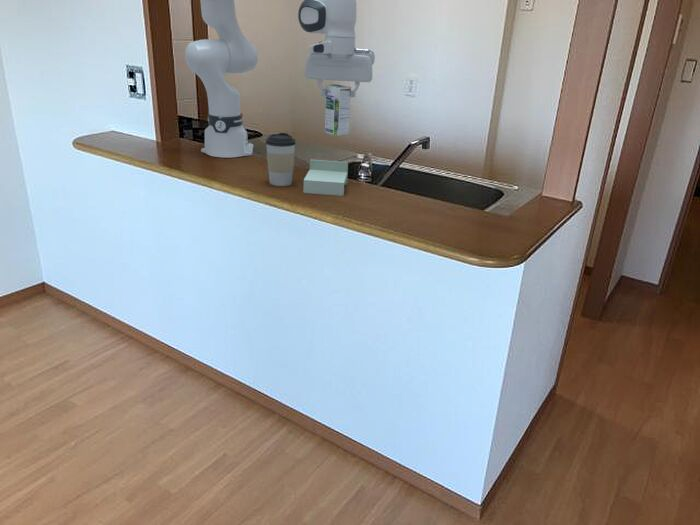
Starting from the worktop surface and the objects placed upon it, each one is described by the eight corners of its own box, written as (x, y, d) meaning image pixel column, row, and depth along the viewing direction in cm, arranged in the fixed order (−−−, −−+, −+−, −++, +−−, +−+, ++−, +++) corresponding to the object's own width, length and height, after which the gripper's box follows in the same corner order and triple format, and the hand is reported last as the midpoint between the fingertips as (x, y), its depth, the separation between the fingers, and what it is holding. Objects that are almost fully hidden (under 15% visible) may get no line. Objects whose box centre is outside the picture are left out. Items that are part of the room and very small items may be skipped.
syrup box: (323, 133, 173) (324, 84, 167) (338, 131, 177) (339, 83, 171) (335, 136, 169) (336, 87, 163) (350, 134, 173) (351, 85, 167)
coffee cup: (290, 188, 169) (290, 139, 162) (262, 185, 170) (261, 136, 164) (298, 180, 177) (299, 133, 170) (271, 177, 178) (271, 130, 172)
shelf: (309, 180, 177) (310, 159, 174) (347, 183, 176) (348, 162, 173) (303, 192, 165) (303, 170, 162) (343, 195, 165) (344, 173, 162)
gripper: (375, 48, 165) (372, 96, 171) (307, 45, 166) (306, 92, 171) (374, 50, 159) (371, 99, 165) (304, 46, 160) (303, 95, 166)
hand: (338, 96), depth 168 cm, fingers closed on syrup box, 8 cm apart
